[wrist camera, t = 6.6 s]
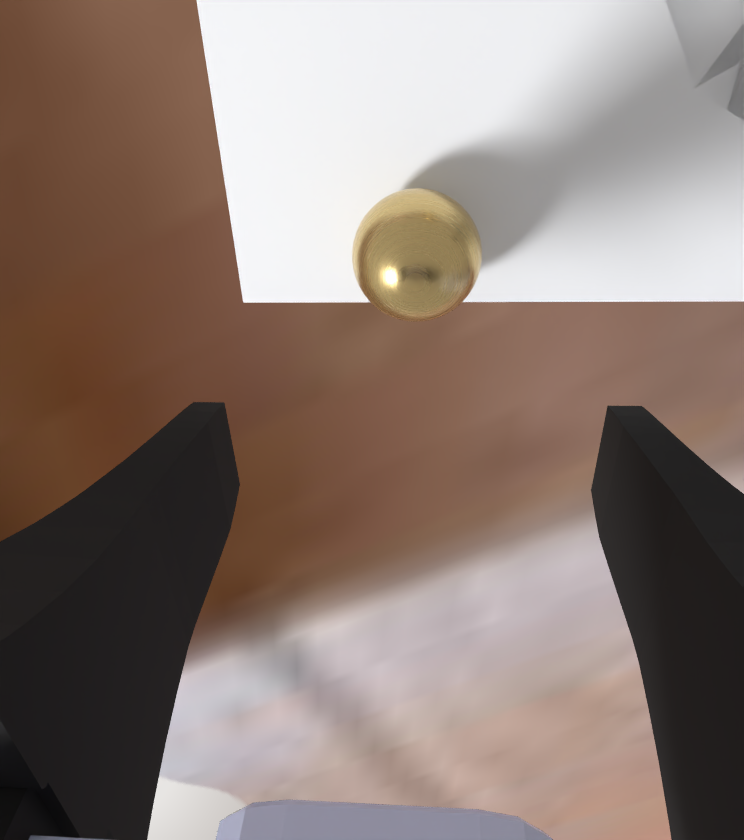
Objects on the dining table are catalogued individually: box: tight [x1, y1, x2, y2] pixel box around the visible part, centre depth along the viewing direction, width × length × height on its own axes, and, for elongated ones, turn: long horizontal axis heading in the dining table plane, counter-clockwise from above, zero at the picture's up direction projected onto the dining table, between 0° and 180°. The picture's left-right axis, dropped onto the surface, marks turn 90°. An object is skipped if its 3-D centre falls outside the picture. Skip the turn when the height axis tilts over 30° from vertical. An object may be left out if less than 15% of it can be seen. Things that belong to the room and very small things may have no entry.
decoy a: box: [352, 188, 482, 322], centre depth 17 cm, size 3×3×3 cm
